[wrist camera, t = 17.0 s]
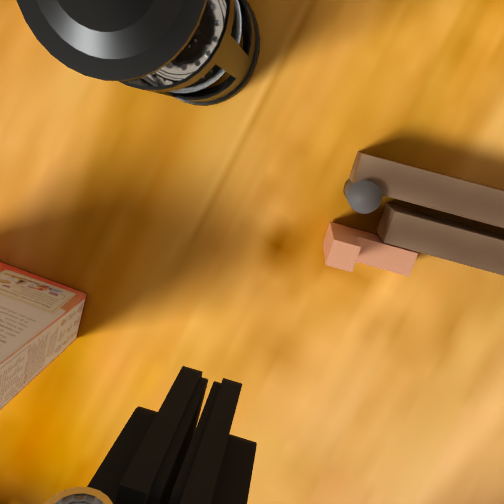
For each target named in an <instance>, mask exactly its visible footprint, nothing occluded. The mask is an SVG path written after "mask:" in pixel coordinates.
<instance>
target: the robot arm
mask: <svg viewBox="0 0 504 504" xmlns="http://www.w3.org/2000/svg"><path fill="white" fill-rule="evenodd" d="M207 383H208V379H205V378H202V371H198V370H195V369H192V368H188V367H185V366H183V367H182V368H181V370H180V372H179V374H178V376H177V378H176V380H175V381H174V383H173V385H172V387H171V389H170V391H169V393H168V395H167V396H166V398H165V400H164V402H163V404H162V406H161V408H160V409H159V411H158V412H155V411H152V410H149V409H146V408H142V407H137V408H136V409H135V411H134V412H133V414H132V415H131V417H130V419H129V420H128V422H127V424H126V425H125V427H124V428H123V430H122V432H121V433H120V435H119V436H118V438H117V440H116V441H115V443H114V444H113V446H112V448H111V449H110V451H109V452H108V454H107V456H106V457H105V459H104V461H103V462H102V464H101V465H100V467H99V469H98V470H97V472H96V473H95V475H94V477H93V478H92V480H91V481H90V483H89V485H88V486H87V487H75V488H70V489H66V490H64V491H62V492H59V493H57V494H55V495H54V496H52V497H51V498H50V499H49V500H48V501H46V502H45V503H44V504H247V500H248V494H249V488H250V482H251V476H252V470H253V464H254V458H255V452H256V445H257V444H256V442H253V441H250V440H246V439H243V438H240V437H237V436H233V435H230V434H229V432H230V429H231V425H232V421H233V417H234V414H235V410H236V406H237V402H238V398H239V395H240V391H241V387H242V384H241V383H238V382H235V381H231V380H228V379H225V378H223V380H222V383H219V382H215V381H214V383H213V385H212V388H211V390H210V393H209V396H208V398H207V401H206V404H205V406H204V409H203V412H202V414H201V417H200V419H199V422H198V418H199V414H200V410H201V406H202V402H203V399H204V395H205V391H206V387H207ZM197 422H198V425H197ZM196 426H197V427H196Z"/></svg>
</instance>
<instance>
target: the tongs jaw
mask: <svg viewBox="0 0 504 504" xmlns="http://www.w3.org/2000/svg"><path fill="white" fill-rule="evenodd" d="M376 231H377V233H378V234H379V236H380V237H381V239H382V240H383V242H384V243H388V244H391V245H395V246H399V247H402V248H406V249H409V250H413V251H417V252H420V253H424V254H428V255H431V256H435V257H439V258H442V259H446V260H449V261H453V262H457V263H460V264H464V265H468V266H471V267H475V268H479V269H482V270H486V271H490V272H493V273H497V274H500V275H504V234H500V233H497V232H493V231H489V230H486V229H482V228H478V227H474V226H471V225H467V224H463V223H460V222H456V221H452V220H448V219H445V218H441V217H437V216H434V215H430V214H426V213H422V212H419V211H415V210H411V209H408V208H404V207H400V206H397V205H393V204H389V203H386V204H385V206H384V209H383V212H382V215H381V218H380V221H379V223H378V226H377V229H376Z"/></svg>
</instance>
